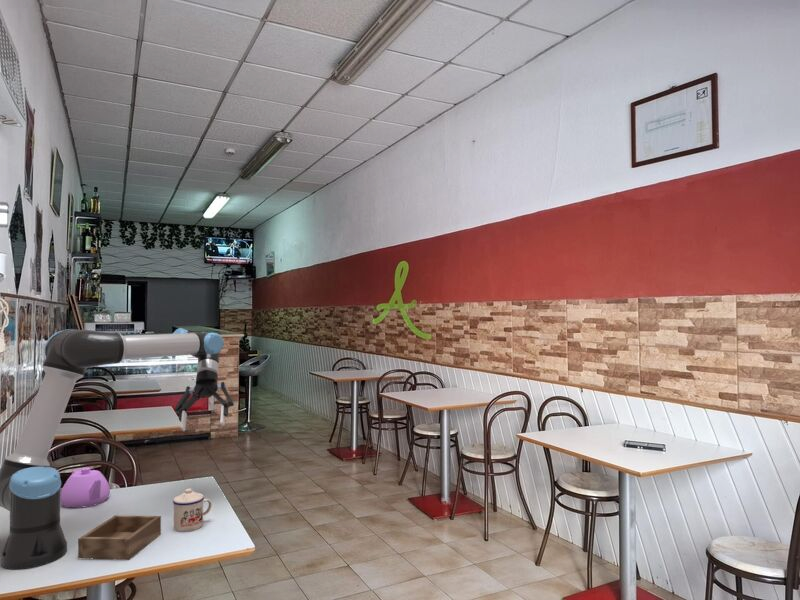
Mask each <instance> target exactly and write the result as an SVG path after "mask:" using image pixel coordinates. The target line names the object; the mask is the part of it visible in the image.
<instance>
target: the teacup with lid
mask: <svg viewBox="0 0 800 600" xmlns="http://www.w3.org/2000/svg"><path fill="white" fill-rule="evenodd" d="M205 502H207V503H208V507H207V509H206V510H205V511H204V503H205ZM172 503H173V529H174V530H175V531H176V532H180V533H181V532H191V531H195V530H198V529H200V528H201V527H202V526H203V525H204V516H206V515H208V514H209V512H211V509H212V507H213V503H212V501H211V499H209V498H205V496H204V495H203V494H202V493H200V492H195V491H193V490H192V488H187V489H185V491H184V492H181V494H178V495H177V496H175V497H174V498H173V500H172Z"/></svg>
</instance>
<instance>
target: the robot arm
mask: <svg viewBox="0 0 800 600" xmlns="http://www.w3.org/2000/svg"><path fill="white" fill-rule="evenodd" d="M223 348H224V339H223V337H222V335H220V334H219V333H217V332H198V331H197V332H194V331H193V332H192V331H189V330H188V329H185V328H183V327H179V328H177V329H175V330H174V332H173V333H160V334H159V333H158V334H134V335H133V334H132V335H123V334H122V333H120V332H104V331H98V330H97V331H96V330H89V329H74V328H70V329H69V328H68V329H62V330H60V331H57V332H55V333H53V334H52V335H51V336H50V337H49V338H48V339H47V341H46V343H45V346H44V355H45V359H44V362H43V364H42V369H43V371H44V373H45V374H44V376H43V379H42V381H41V384H40V386H39V389H38V392H37V393H36V396H35V397H36V398H35V399H34V401H33V404H32V407H31V409H30V411H29V414H28V417H27V419H26V422H25V425H24V427H23V429H22V432H21V434H20V436H19V439H18V442H17V444H16V445H15V449H14V452H12V453H11V454H10V455H7V456H6V457H5V458H4V461H3V464H2V465H1V468H0V507H1V508H3V509H4V510H7V511H9V532H8V533H9V534H8V536H7V538H6V539H7V540H6V542H5V545H4V547H3V551H2V554H1V557H0V561H1V566H2V567H3V568H5V569H9V570H20V569H21V570H22V569H30V568H34V567H39V566H43V565H47V564H49V563H52V562H54V561H56V560H58V559H60V558H62V557H63V556H65V554H66V553H67V552H68V542H67V540H66V538H65V534H64V531H63V528H62V526H61V502H60V494H61V487H62V480H61V473H60V472H59V470H58V469H56V468H54V467H51V466H50V465H51V464H50V461H49V460H48V455H49V454H50V451H51V447H52V445H53V442H54V440H55V438H56V434H57V432H58V429H59V427H60V425H61V421H62V418H63V416H64V414H65V410H67V409H66V408H67V405H68V403H69V401H70V399H71V395H72V393H73V390H74V387H75V385H76V383H77V381H78V380H79V379H82V378H83V377H84V376H85V373H86V371H87V369H88V368H94V367H99V366H104V365H105V366H106V365H113V364H115V365H116V364H120V363H122V361H123V360H135V359H137V360H138V359H148V358H162V357H165V358H166V357H178V356H179V357H180V356H189V355H190V356H192V357H194V358H196V359H198V360H197V367H196V377H195V378H196V379H195V385H194V387H190V385H189V386H186V388H185V391H184V393H183V394H182V396H181V397H180V399H179V401H178V402H177V404H176V406H175V407H174V411H175V412H176V414H178V415H179V416H178V420H179V422H180V429H181V431H182V432H185V431H186V428H187V427H186V426H187V417H188V413H187V412H188V411H189V410H190V408H191V407H192V406H193V405H194V404H195V403H196V402H197V401H199V400H200V399H205V398H211V397H212V396H213V397H214V398H215V399H216V400H217V401H218V402H219V404H221V406H220V408H221V410H220V420H219V421H220V422H219V424H220V425H221V426H222V427H223V426H224V427H225V423H226V417H227V416H228V415H229V408H230V407H234V405H235V403H234V401H233V400H232V398H231V396H230V394H229V392H228V390H227V385H226V383H225V382H224V381H222V382H221V383H218V379H219V378H218V377H219V375H218V374H219V368H220V367H219V366H220V364H219V362H220V354H221V351H222V349H223ZM219 389H220V390H221V391H222V392H223V394H224V396H225V397H226V400H227V401H225V399H224V398H223V397H222V396H221V395H219V394H218V393H217V391H218V390H219ZM193 392H194V393H193Z"/></svg>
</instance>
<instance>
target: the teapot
mask: <svg viewBox="0 0 800 600" xmlns="http://www.w3.org/2000/svg"><path fill="white" fill-rule="evenodd" d="M110 493H111V489H110V485H109V482H108V480H107V478H106V476H105V475H104V474H103V473H102V472H101V471H99V470H97V469H96V470H95V469H92V470H91V467H89V466H87V467H82V468H76V469H72V471H71V475H70V476H69V477H68V479H67V480H66V481H65V483H64V484H63V486H62V488H61V490H60V504H61V505H63V506H64V507H66V506H67V507H66V508H69V507H81V508H84V507H83V506H88V507H91V506H90V505H92V506H95V505H94V504H96V505H99V504H101V503H103V502H104V501H106V499H108V497H109V496H110ZM98 503H99V504H98Z"/></svg>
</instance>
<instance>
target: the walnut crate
mask: <svg viewBox="0 0 800 600" xmlns="http://www.w3.org/2000/svg"><path fill="white" fill-rule="evenodd" d="M161 520H162V516H161V515H114V516H112V517H110V518H109V519H107V520H105V521H104V522H102V523H101V524H98V526H96V527H94V528H93V529H91V530H89V531H88V532H86V533H85V534H83V535H82V536H80V537H78V538H77V539H78V540H77V547H78V549H77V559H78V558H86V559H85V560H91V559H90V558H93V559H92V560H113V559H116V560H120V561H122V560H123V561H127V560H128V561H129V560H131V559H132V558H134V556H136V555H138V553H139V552H141V551H142V550H143V549H145V548H146V547H147V546H148V545H150V544H151V543H152V542H153V541H154V540H156V539H157V538H158V537H159V536H160V535H161V534H162V521H161ZM87 558H89V559H87ZM116 560H115V561H116Z"/></svg>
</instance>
